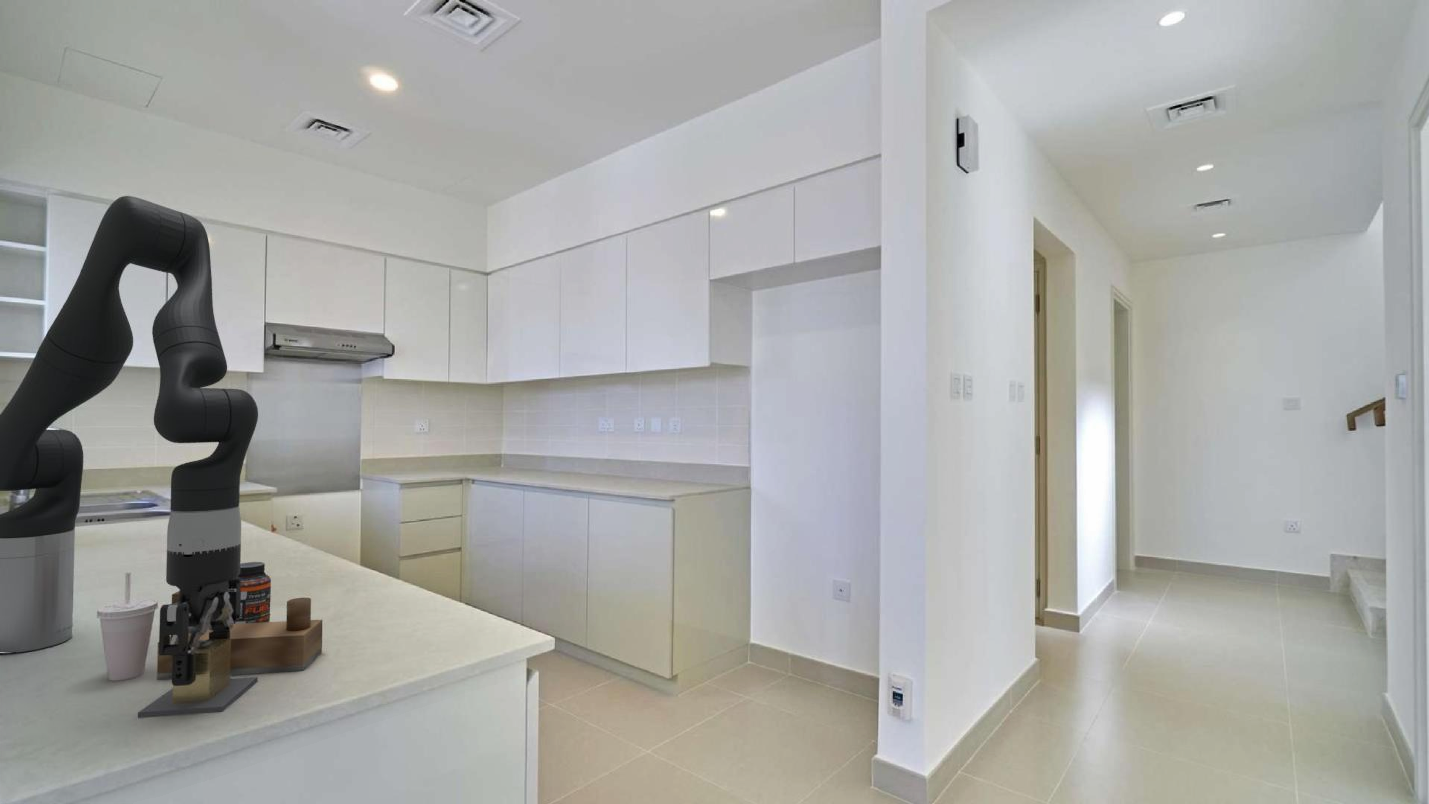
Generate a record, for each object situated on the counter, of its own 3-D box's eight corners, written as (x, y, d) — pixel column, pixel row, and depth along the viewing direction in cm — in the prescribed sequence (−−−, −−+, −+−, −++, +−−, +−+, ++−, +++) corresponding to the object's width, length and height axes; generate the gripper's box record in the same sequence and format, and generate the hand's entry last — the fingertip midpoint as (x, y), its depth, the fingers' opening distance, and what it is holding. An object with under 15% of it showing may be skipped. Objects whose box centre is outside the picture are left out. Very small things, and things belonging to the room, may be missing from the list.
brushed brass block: (172, 703, 81) (173, 649, 81) (195, 686, 86) (196, 635, 86) (209, 700, 82) (210, 647, 82) (229, 684, 87) (231, 634, 87)
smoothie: (151, 662, 95) (153, 565, 95) (161, 674, 91) (164, 573, 91) (90, 675, 90) (93, 574, 90) (99, 688, 86) (101, 582, 86)
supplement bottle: (246, 640, 105) (248, 569, 105) (215, 637, 106) (217, 567, 106) (278, 628, 110) (280, 561, 111) (249, 625, 112) (250, 559, 112)
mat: (137, 717, 79) (137, 712, 79) (181, 686, 87) (181, 681, 87) (222, 711, 80) (222, 706, 80) (257, 681, 89) (257, 677, 89)
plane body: (156, 679, 89) (158, 598, 89) (186, 660, 96) (188, 585, 96) (303, 670, 93) (304, 592, 93) (321, 652, 100) (323, 580, 100)
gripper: (202, 533, 90) (199, 652, 90) (134, 556, 76) (130, 698, 76) (263, 532, 92) (261, 649, 92) (207, 554, 78) (204, 693, 78)
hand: (202, 671), depth 84 cm, fingers open, 7 cm apart
